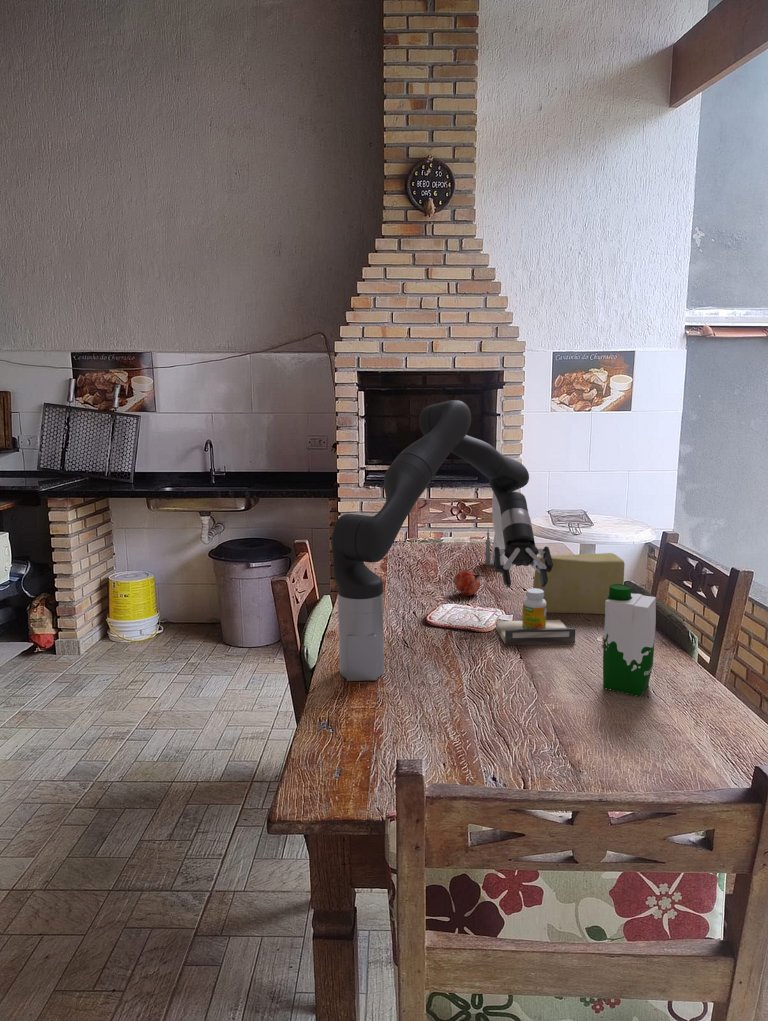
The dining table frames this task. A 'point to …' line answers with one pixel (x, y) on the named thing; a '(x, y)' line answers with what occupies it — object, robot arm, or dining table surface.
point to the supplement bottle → (534, 610)
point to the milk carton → (628, 640)
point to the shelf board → (535, 633)
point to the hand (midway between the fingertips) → (526, 585)
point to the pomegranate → (467, 582)
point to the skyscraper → (498, 534)
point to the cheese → (580, 582)
